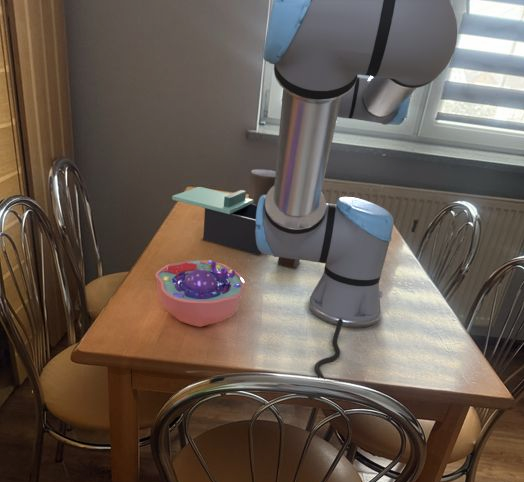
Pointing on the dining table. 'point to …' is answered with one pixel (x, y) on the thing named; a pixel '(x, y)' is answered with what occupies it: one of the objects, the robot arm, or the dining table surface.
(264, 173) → the pillar candle
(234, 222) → the bin
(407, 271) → the dining table surface
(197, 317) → the cell model
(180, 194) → the lid
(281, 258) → the block
